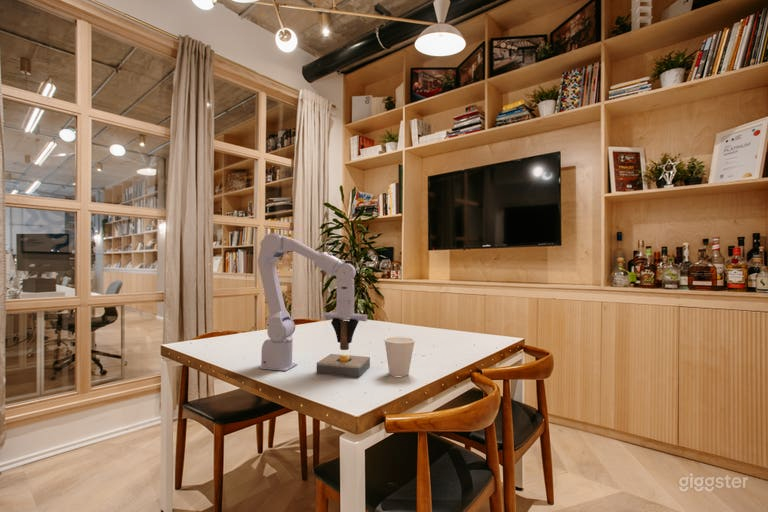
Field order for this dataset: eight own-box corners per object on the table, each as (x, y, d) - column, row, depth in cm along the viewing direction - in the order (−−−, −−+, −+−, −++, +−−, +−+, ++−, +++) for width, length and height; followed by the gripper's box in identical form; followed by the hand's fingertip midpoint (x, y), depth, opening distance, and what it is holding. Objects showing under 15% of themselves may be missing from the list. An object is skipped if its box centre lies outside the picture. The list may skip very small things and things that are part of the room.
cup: (378, 371, 121) (379, 337, 121) (406, 368, 124) (407, 335, 124) (390, 380, 111) (390, 343, 112) (420, 377, 115) (420, 341, 115)
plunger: (337, 363, 120) (337, 356, 120) (341, 360, 123) (341, 354, 123) (347, 363, 119) (347, 357, 119) (350, 361, 122) (350, 355, 122)
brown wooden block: (338, 349, 120) (339, 321, 120) (342, 347, 123) (342, 320, 123) (346, 350, 119) (347, 322, 119) (350, 348, 122) (350, 320, 122)
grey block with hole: (316, 373, 117) (316, 362, 117) (330, 363, 129) (330, 353, 129) (359, 377, 114) (359, 366, 114) (369, 367, 125) (370, 357, 125)
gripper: (319, 300, 119) (318, 343, 119) (363, 302, 116) (362, 346, 116) (328, 298, 126) (327, 338, 126) (369, 300, 123) (368, 341, 123)
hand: (344, 342), depth 121 cm, fingers closed on brown wooden block, 3 cm apart
